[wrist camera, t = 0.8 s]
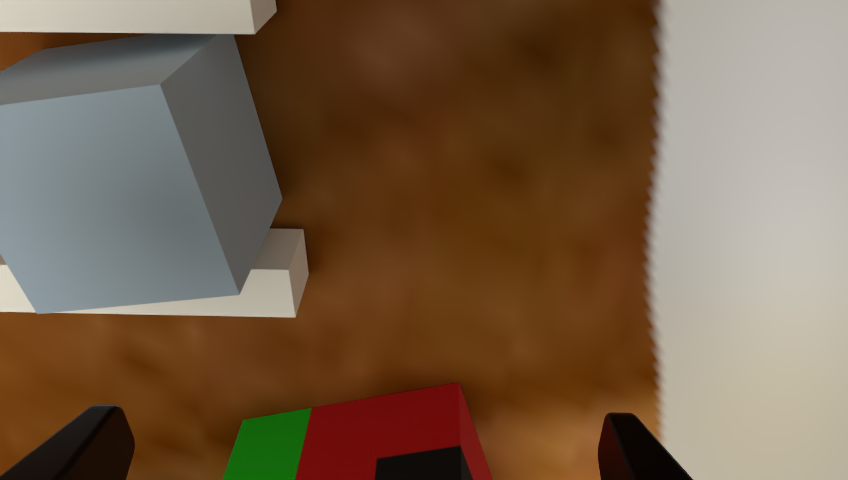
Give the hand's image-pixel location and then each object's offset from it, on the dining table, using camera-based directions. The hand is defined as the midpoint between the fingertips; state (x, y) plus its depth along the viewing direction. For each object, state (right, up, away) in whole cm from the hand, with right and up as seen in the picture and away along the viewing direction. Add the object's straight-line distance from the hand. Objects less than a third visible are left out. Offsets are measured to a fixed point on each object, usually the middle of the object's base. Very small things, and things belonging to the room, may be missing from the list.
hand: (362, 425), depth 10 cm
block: (-7, +7, +10) cm, 14 cm away
